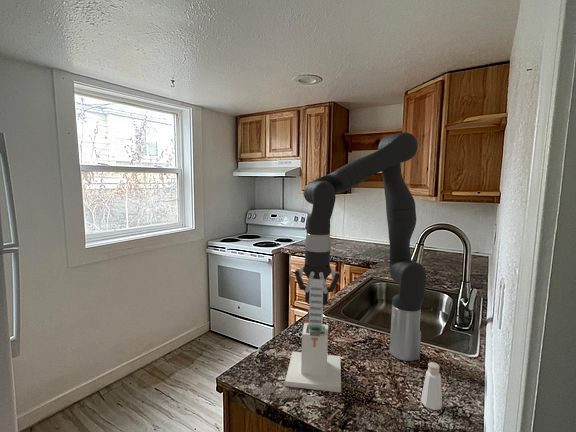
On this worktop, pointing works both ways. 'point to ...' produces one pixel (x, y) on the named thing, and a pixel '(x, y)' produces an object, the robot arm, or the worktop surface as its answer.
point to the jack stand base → (314, 363)
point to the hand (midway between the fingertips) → (316, 303)
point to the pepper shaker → (432, 388)
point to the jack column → (316, 304)
